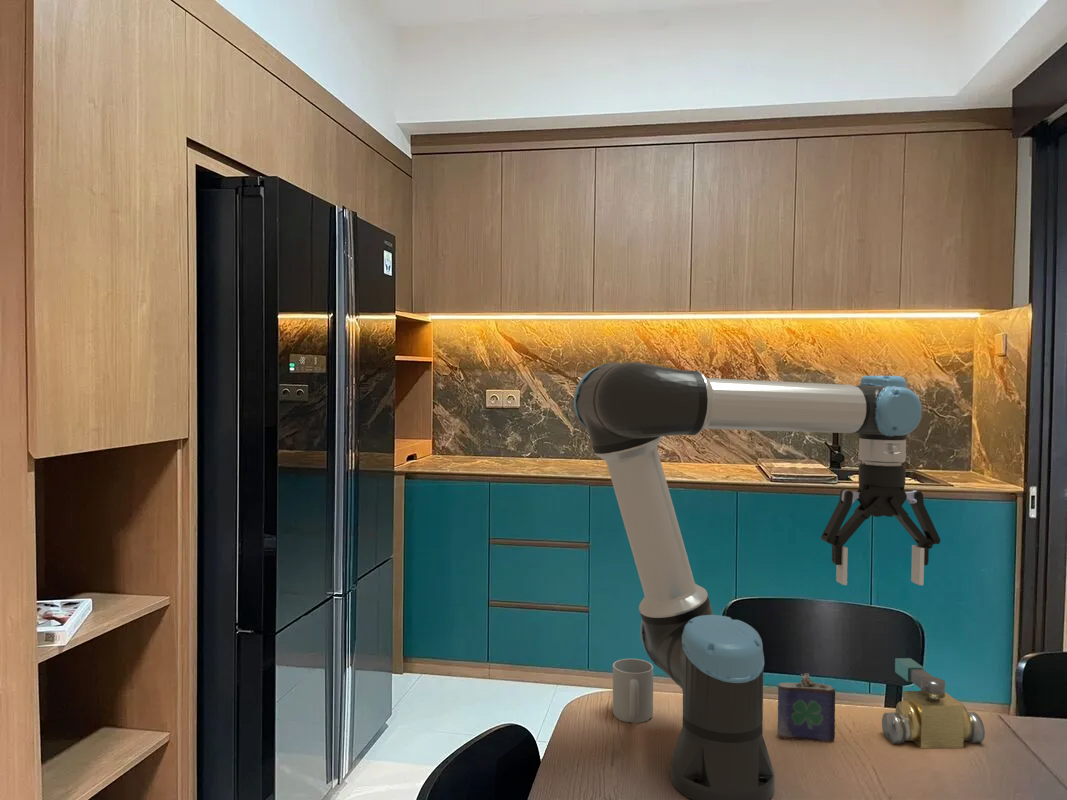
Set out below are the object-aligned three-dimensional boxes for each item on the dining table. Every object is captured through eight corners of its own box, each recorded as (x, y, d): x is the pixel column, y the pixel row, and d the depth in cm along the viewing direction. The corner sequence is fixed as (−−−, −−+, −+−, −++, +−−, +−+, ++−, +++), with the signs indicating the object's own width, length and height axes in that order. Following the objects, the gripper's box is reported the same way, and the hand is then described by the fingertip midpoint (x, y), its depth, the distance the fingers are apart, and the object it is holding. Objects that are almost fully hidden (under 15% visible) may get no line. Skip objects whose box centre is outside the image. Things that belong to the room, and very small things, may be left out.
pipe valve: (897, 750, 124) (898, 703, 124) (880, 733, 130) (880, 688, 130) (986, 750, 125) (987, 703, 125) (965, 733, 131) (966, 688, 131)
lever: (949, 699, 126) (949, 684, 126) (927, 699, 126) (928, 684, 125) (912, 671, 137) (912, 658, 137) (892, 672, 137) (893, 658, 137)
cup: (651, 707, 140) (651, 659, 140) (655, 731, 130) (655, 680, 130) (612, 705, 141) (612, 658, 141) (613, 730, 131) (613, 678, 131)
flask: (778, 739, 128) (779, 676, 127) (776, 731, 130) (776, 669, 130) (836, 744, 126) (837, 680, 126) (832, 736, 129) (833, 673, 129)
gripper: (820, 464, 130) (818, 588, 130) (964, 466, 130) (961, 589, 131) (803, 460, 137) (801, 577, 137) (939, 461, 138) (936, 578, 138)
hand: (879, 583), depth 134 cm, fingers open, 13 cm apart
